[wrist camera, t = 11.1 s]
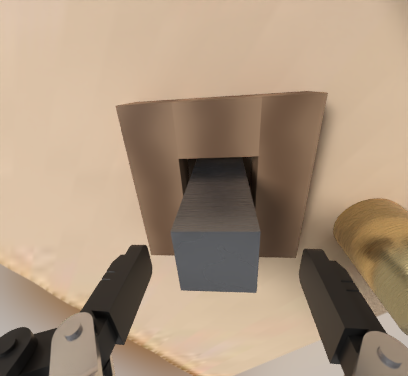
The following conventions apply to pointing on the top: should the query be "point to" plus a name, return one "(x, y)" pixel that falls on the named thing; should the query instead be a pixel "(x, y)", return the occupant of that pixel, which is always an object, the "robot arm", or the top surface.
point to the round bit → (379, 251)
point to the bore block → (226, 147)
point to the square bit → (217, 229)
